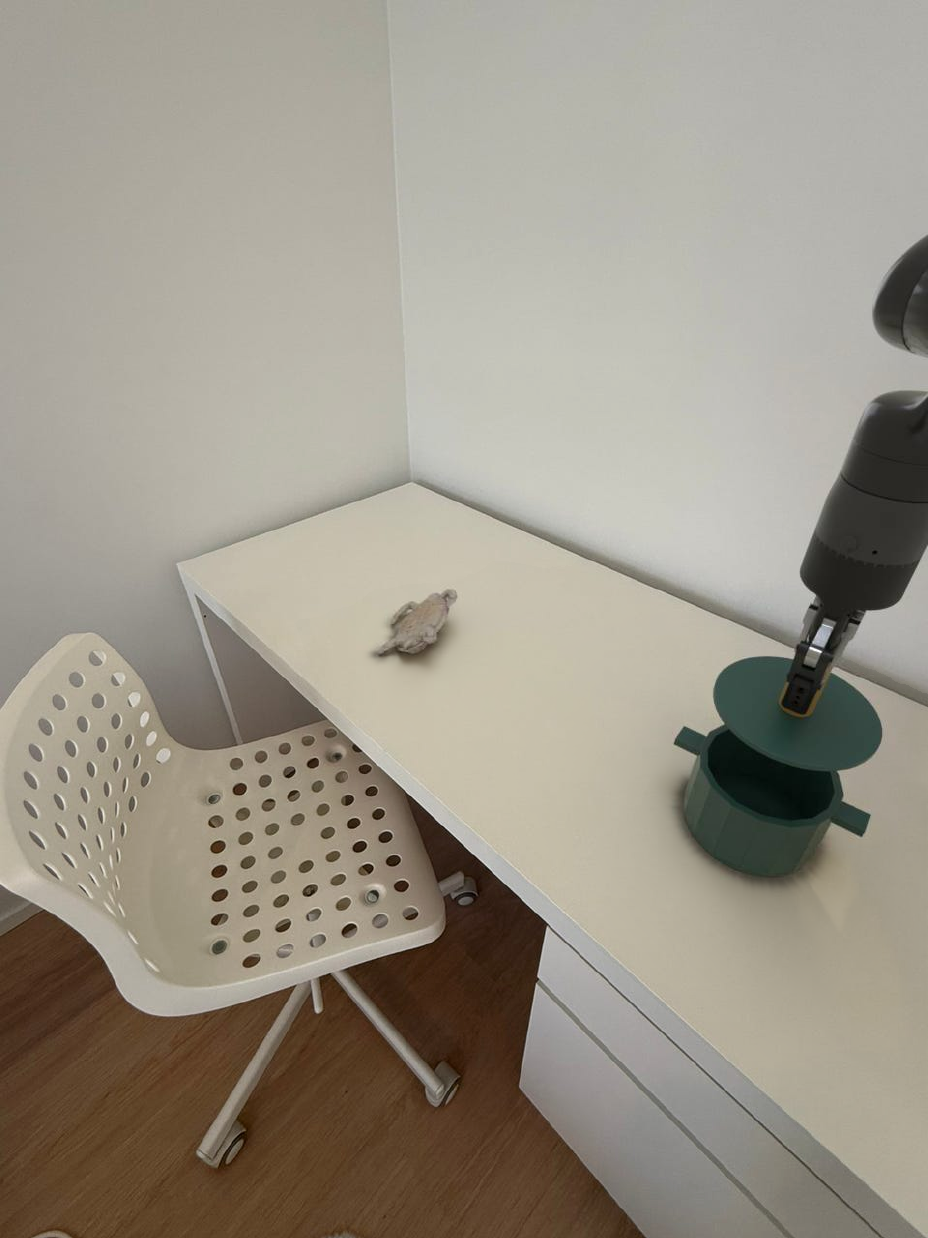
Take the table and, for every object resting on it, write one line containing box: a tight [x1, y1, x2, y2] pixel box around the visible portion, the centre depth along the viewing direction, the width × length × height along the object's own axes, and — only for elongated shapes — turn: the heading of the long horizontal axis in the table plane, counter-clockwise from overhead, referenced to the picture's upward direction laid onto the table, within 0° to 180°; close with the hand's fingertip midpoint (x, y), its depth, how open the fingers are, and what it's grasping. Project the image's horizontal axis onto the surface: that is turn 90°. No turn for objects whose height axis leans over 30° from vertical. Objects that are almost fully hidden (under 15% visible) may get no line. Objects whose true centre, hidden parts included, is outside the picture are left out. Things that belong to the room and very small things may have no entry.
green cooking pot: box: [673, 723, 872, 878], centre depth 69 cm, size 14×19×8 cm
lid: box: [712, 655, 883, 772], centre depth 59 cm, size 15×15×7 cm
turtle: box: [378, 588, 458, 655], centre depth 95 cm, size 16×10×10 cm, turn 7°
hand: (799, 697), depth 60 cm, fingers closed on lid, 3 cm apart
